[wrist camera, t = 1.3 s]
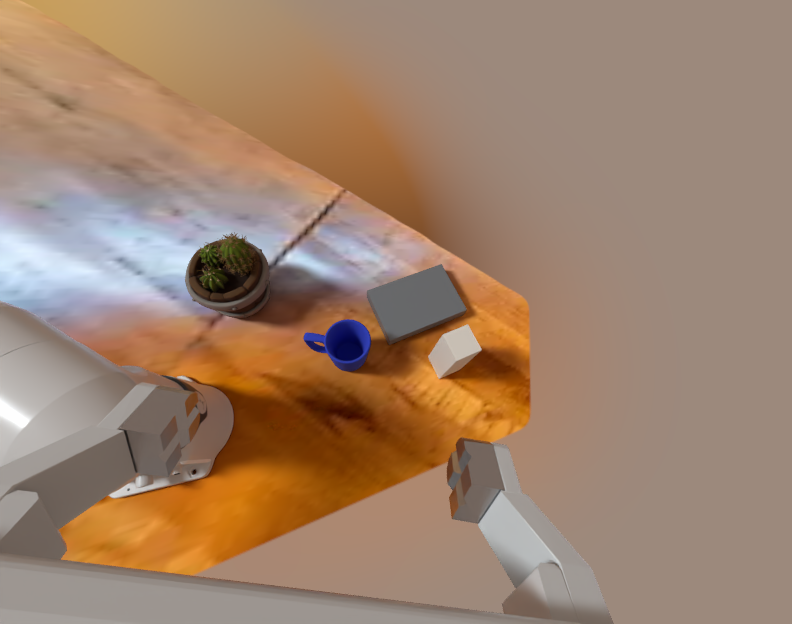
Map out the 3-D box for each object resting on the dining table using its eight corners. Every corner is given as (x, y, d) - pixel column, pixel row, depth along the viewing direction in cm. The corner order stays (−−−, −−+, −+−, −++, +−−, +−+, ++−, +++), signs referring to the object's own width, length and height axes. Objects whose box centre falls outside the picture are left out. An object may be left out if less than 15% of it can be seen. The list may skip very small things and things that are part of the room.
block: (438, 379, 70) (456, 361, 57) (428, 357, 72) (442, 334, 59) (460, 369, 71) (481, 349, 58) (449, 348, 73) (467, 324, 60)
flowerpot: (207, 334, 69) (152, 289, 51) (207, 268, 75) (157, 207, 57) (282, 323, 72) (254, 276, 53) (276, 260, 77) (250, 198, 59)
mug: (315, 331, 72) (308, 312, 62) (372, 340, 72) (374, 322, 63) (305, 370, 68) (297, 356, 59) (366, 378, 69) (366, 366, 59)
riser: (388, 345, 72) (390, 340, 69) (366, 296, 76) (367, 290, 73) (463, 315, 76) (466, 309, 73) (438, 270, 80) (441, 264, 77)
